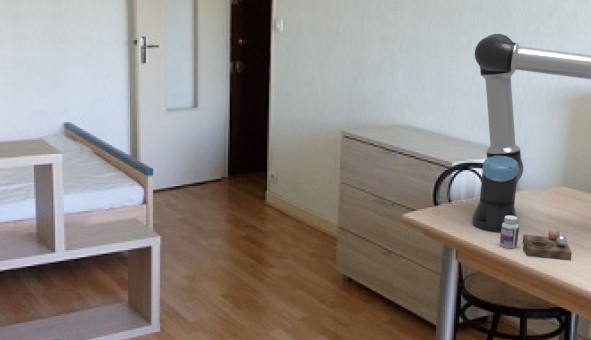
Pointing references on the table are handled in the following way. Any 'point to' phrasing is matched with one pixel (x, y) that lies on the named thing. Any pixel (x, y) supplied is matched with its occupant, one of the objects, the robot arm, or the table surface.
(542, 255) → the brown flat square slab
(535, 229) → the table surface
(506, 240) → the pill bottle
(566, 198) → the table surface
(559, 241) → the ball
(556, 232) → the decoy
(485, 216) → the robot arm
